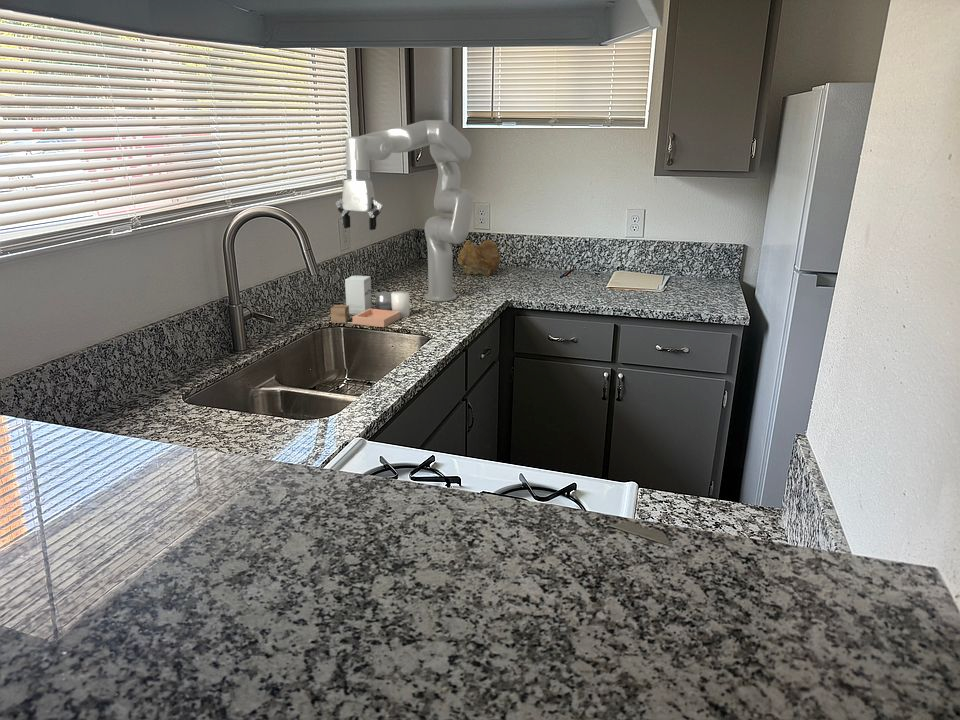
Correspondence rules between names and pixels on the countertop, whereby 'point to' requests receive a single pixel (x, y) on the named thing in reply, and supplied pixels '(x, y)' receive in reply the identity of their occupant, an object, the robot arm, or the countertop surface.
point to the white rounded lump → (401, 302)
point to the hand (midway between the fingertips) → (359, 228)
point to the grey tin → (383, 301)
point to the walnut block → (340, 313)
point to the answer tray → (376, 317)
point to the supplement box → (358, 293)
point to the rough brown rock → (479, 258)
